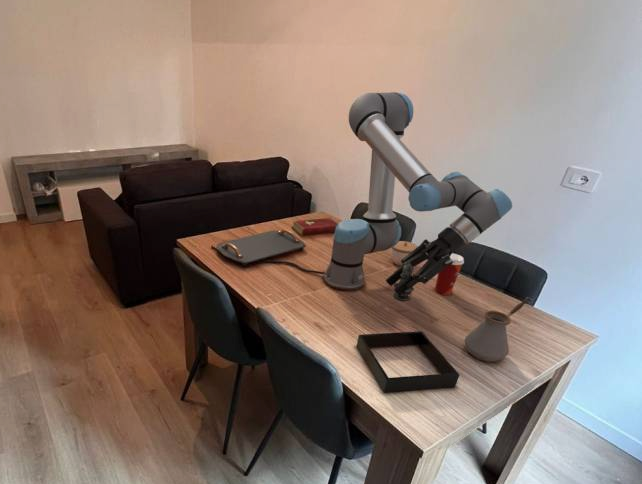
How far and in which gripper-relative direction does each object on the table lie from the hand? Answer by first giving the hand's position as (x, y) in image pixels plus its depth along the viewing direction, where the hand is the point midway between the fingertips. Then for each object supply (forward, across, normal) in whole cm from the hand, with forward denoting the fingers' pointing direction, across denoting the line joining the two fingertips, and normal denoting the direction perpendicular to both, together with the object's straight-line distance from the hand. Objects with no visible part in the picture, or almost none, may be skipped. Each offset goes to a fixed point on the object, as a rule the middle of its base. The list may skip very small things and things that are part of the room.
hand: (392, 287), depth 123 cm
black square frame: (+12, -20, -8) cm, 24 cm away
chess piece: (0, 0, -5) cm, 5 cm away
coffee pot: (-10, -15, -30) cm, 35 cm away
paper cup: (-13, +20, -32) cm, 40 cm away
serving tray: (+31, +62, +12) cm, 70 cm away
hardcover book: (+9, +85, -11) cm, 86 cm away
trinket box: (-9, +45, -29) cm, 54 cm away
